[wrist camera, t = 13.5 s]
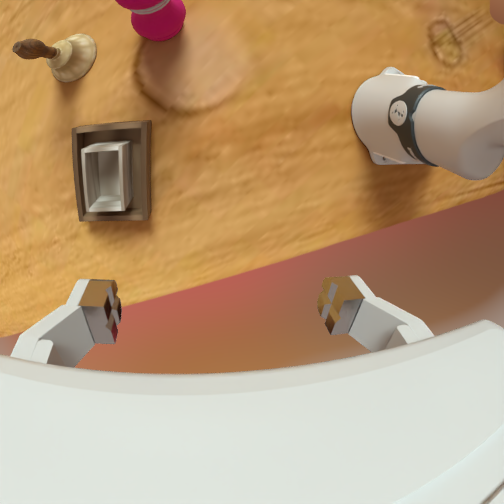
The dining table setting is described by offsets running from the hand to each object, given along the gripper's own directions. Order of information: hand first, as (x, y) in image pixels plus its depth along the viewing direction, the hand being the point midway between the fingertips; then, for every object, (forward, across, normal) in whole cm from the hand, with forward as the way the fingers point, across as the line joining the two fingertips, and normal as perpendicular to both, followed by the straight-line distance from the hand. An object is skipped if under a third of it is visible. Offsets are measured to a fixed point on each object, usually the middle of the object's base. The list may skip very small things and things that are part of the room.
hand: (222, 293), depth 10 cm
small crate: (+34, +14, +3) cm, 36 cm away
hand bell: (+34, +22, -16) cm, 44 cm away
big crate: (+34, +14, +3) cm, 37 cm away
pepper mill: (+34, +8, -20) cm, 41 cm away
